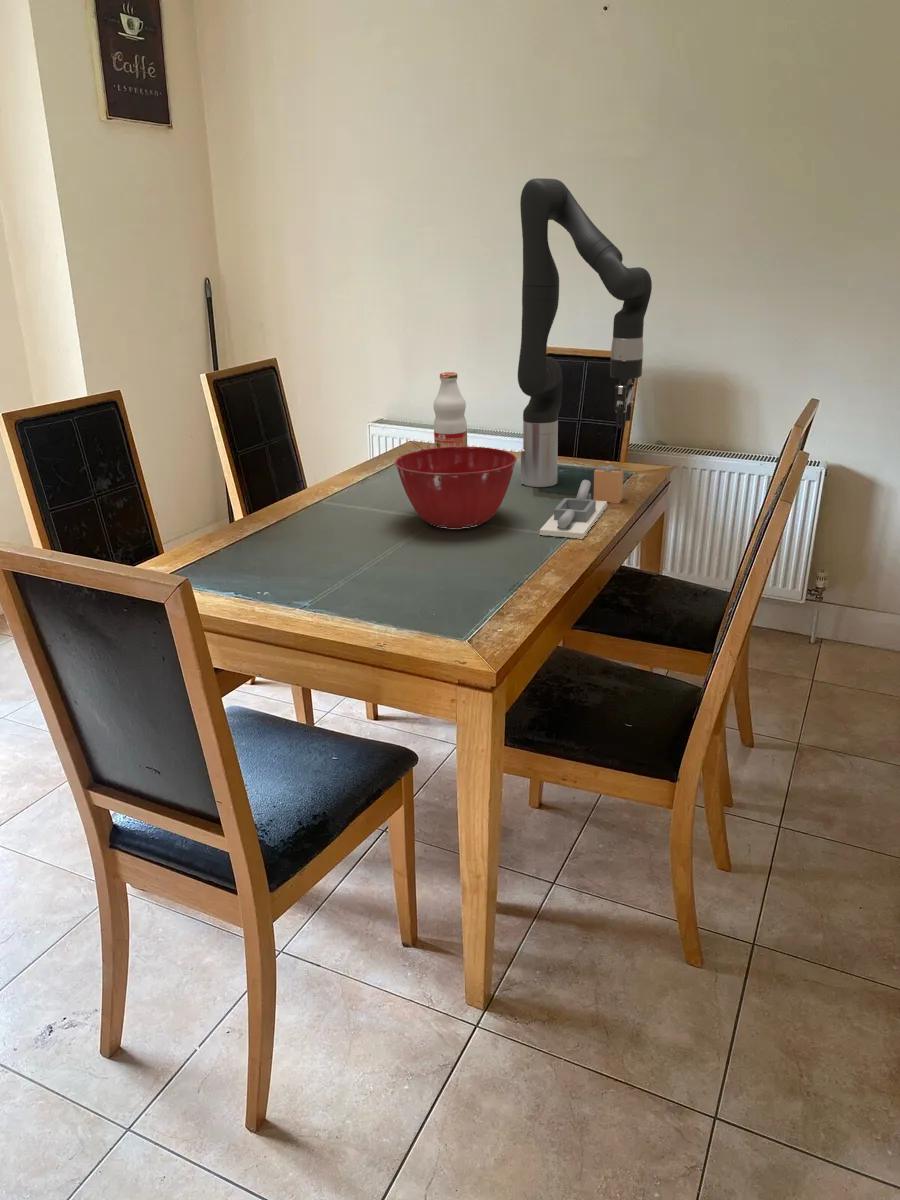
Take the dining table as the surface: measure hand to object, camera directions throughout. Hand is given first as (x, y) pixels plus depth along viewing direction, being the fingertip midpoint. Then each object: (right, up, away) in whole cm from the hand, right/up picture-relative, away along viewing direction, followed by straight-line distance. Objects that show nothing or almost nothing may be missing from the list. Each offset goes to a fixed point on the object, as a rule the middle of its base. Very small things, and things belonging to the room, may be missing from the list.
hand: (623, 424), depth 222 cm
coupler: (-3, -18, +7) cm, 19 cm away
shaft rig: (-13, -25, -8) cm, 29 cm away
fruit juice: (-42, -7, +39) cm, 58 cm away
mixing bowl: (-41, -25, -5) cm, 48 cm away
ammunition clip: (-44, -12, +24) cm, 52 cm away
